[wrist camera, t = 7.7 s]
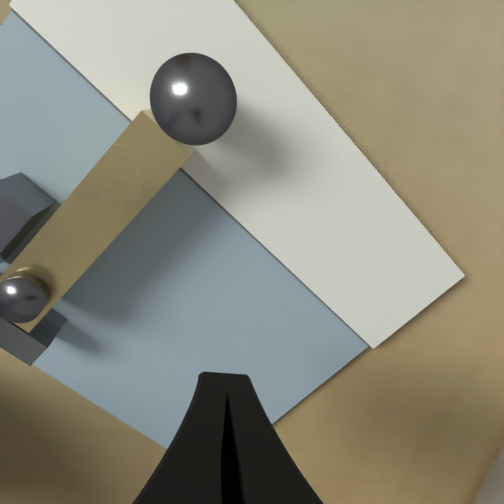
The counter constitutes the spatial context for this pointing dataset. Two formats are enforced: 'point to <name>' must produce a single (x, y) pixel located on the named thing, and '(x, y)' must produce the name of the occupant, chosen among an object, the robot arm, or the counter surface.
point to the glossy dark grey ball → (193, 99)
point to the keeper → (5, 242)
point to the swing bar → (90, 219)
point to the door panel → (207, 216)
